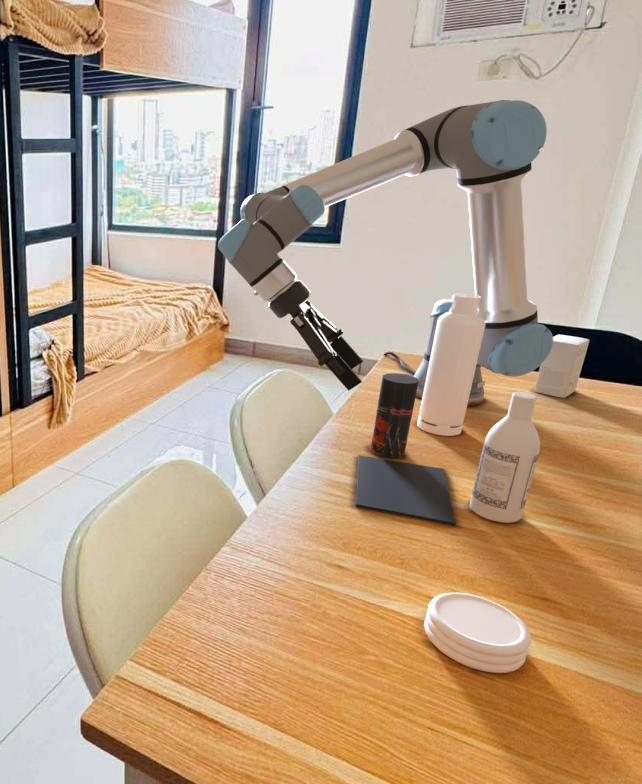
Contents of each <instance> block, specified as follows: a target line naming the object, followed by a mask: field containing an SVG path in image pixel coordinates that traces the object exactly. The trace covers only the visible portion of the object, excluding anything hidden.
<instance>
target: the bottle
mask: <svg viewBox="0 0 642 784" xmlns="http://www.w3.org/2000/svg"><path fill="white" fill-rule="evenodd" d="M451 299H453V304H452V306H451V308H450V311H449V312H447V313H445V314H443V315H441V316H440V317H439V319H438V322H437V327H436V332H435V337H434V342H433V347H432V352H431V357H430V362H429V367H428V372H427V377H426V382H425V387H424V392H423V397H422V399H421V402H420V406H419V407H420V408H419V412H418V413H419V414H418V417H417V423H416V427H417V428H418V429H420V430H422V431H424V432H426V433H429V434H433V435H436V436H438V435H439V436H447V437H451V436H452V437H453V436H458V435H460V434H461V433H462V430H463V425H464V424H463V423H464V422H465V418H466V417H465V416H466V414H467V413H466V412H467V408H468V406H467V404H468V400H469V395H470V391H471V386H472V382H473V378H474V373H475V369H476V364H477V360H478V356H479V351H480V347H481V342H482V338H483V334H484V329H485V321H484V319H483V318H482V317H481V316H479V315H477V314H478V311H477V306H478V304H479V302H480V300H481V296H478V295H475V294H473V293H453V294H452V297H451Z"/></svg>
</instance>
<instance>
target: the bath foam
mask: <svg viewBox="0 0 642 784" xmlns="http://www.w3.org/2000/svg"><path fill="white" fill-rule="evenodd" d="M536 401H537V396H536V395H534V394H532V393H530V392H525V391H516V392H513V393H512V395H511V399H510V404H509V406H508V411H507V414H506V415H505V416H504V417H503V418H502V419H501V420H499V421H498V422H497V423H496V424H494V425H493V426H492V427H491V428H490V430H489V431H488V432H487V434H486V436H485V439H484V441H483V446H482V450H481V454H480V459H479V463H478V467H477V471H476V475H475V478H474V483H473V487H472V492H471V495H470V501H469V508H470V510H471V511H473V512H474V513H475V514H476V515H478V516H480V517H481V518H484V519H487V520H490V521H492V522H496V523H505V524H506V523H507V524H511V523H516V522H518V521H520V520H521V519H522V516H523V513H524V510H525V506H526V503H527V499H528V496H529V493H530V488H531V486H532V481H533V477H534V474H535V471H536V468H537V463H538V460H539V456H540V450H541V439H540V436H539V433H538V430H537V429H536V426H535V425H534V423H533V421H532V416H533V414H534V410H535V406H536Z"/></svg>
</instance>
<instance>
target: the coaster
mask: <svg viewBox="0 0 642 784" xmlns="http://www.w3.org/2000/svg"><path fill="white" fill-rule="evenodd" d="M423 627H424V632H425V634H426V636H427V638H428V639H429V641H430V642H431V644H433V646H434V647H436V648H437V649H438V650H439V651H440V652H441V653H443V654H444V655H445V656H447V657H449V658H450V659H451V660H453V661H455V662H457V663H459V664H461V665H462V666H465V667H468V668H471V669H473V670H477V671H482V672H487V673H493V674H506V673H512V672H515V671H517V670H519V669H520V668H521V667H522V666H523V665H524V664H525V663H526V661H527V655H528V653H529V649H530V646H531V643H532V635H531V632H530V630H529V628H528V626H527V625H526V623H524V621H523V620H522V619H521V618H519V616H517V615H516V614H515V613H514V612H513V611H511V610H510V609H508V608H506V607H505V606H503V605H501V604H499V603H497V602H494V601H493V600H491V599H488V598H485V597H482V596H479V595H475V594H472V593H471V594H470V593H465V592H447V593H441V594H439V595H437V596H434V597H433V598H432V599H431V600H430V602H428V606H427V611H426V614H425V618H424V622H423Z"/></svg>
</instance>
